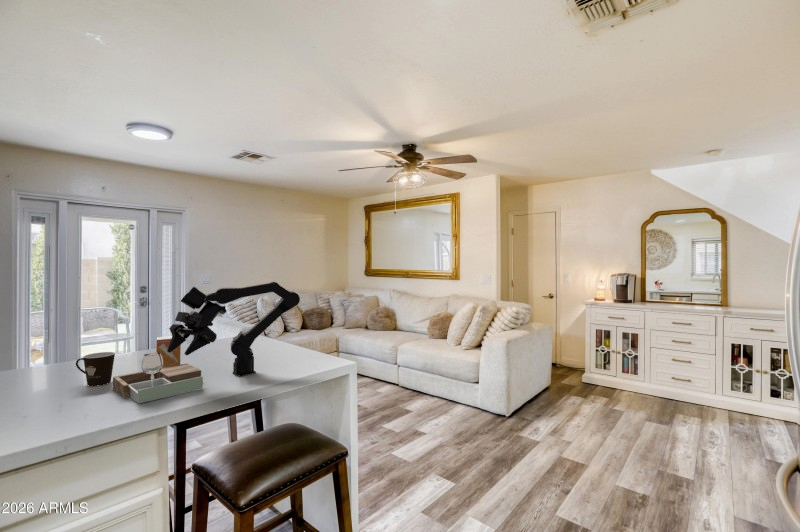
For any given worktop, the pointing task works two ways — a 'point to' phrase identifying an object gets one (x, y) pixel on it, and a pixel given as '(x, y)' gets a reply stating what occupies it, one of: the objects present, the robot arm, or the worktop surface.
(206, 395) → the worktop surface
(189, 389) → the tray
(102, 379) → the coffee mug
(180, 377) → the divided wooden organizer
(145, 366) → the wineglass
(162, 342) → the small box
